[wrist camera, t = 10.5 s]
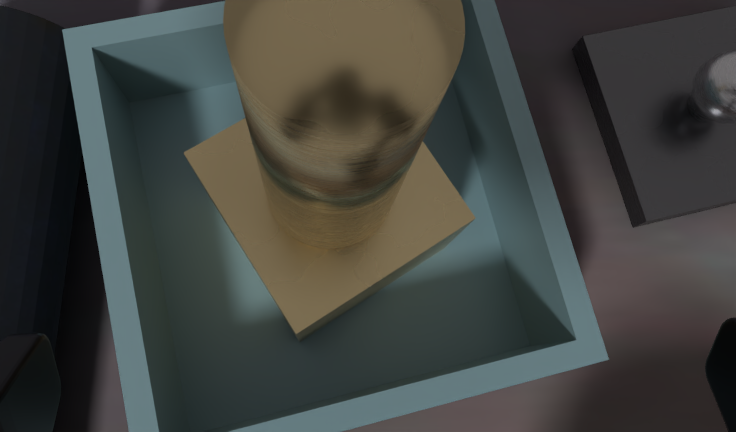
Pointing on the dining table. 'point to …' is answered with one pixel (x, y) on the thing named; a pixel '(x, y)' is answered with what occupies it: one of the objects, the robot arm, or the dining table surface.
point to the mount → (667, 111)
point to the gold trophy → (335, 147)
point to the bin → (246, 290)
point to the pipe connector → (35, 173)
